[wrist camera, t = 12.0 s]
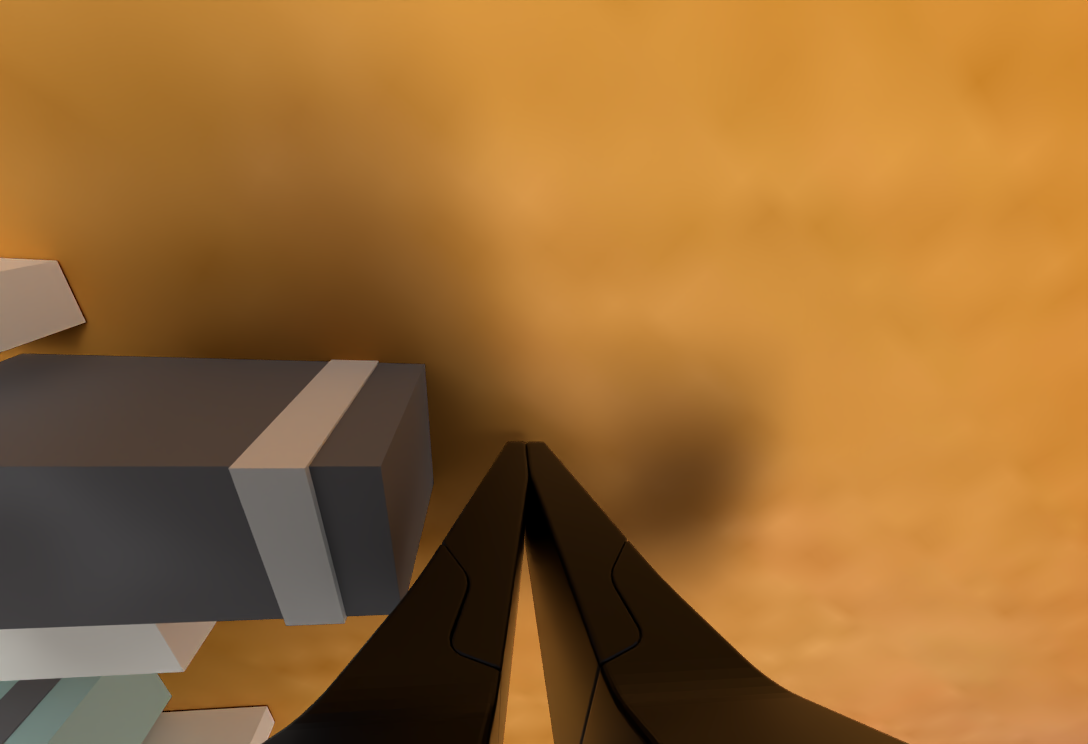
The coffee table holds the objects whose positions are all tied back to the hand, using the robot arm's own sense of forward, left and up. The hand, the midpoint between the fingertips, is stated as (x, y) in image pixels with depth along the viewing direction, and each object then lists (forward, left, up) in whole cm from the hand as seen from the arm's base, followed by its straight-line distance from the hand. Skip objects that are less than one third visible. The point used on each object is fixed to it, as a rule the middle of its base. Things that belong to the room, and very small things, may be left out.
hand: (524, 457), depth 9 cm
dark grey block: (0, +6, -1) cm, 6 cm away
